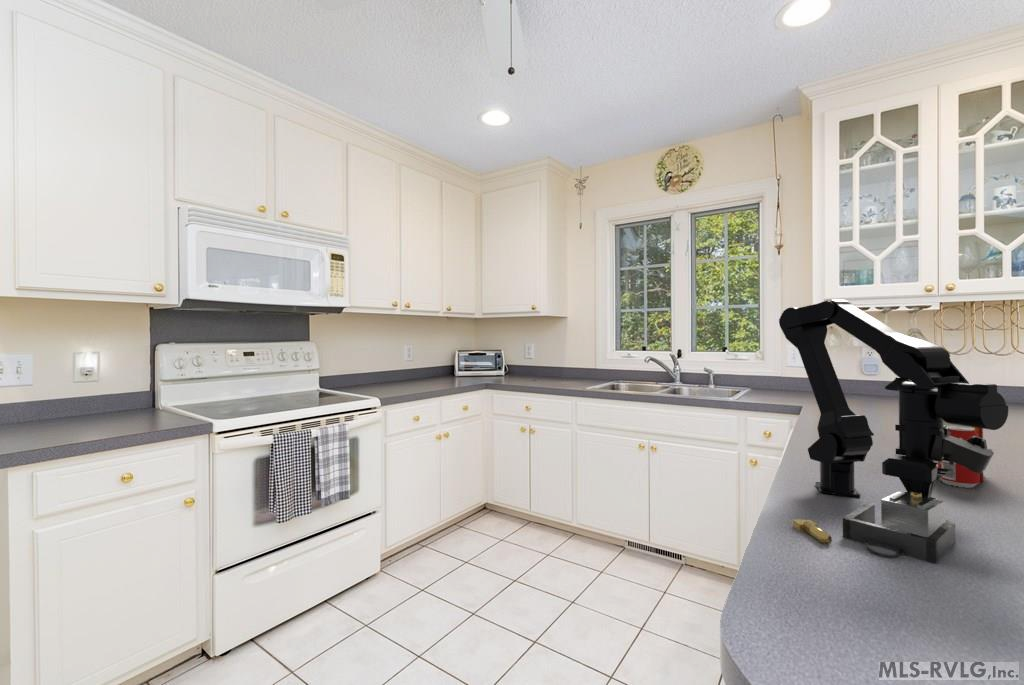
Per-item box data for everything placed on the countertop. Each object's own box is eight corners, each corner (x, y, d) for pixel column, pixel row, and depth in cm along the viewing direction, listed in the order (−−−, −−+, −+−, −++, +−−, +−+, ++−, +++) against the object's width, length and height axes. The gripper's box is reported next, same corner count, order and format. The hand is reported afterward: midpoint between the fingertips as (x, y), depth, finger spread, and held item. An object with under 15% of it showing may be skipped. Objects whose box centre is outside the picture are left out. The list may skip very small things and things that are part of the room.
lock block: (898, 517, 80) (898, 485, 80) (944, 529, 75) (944, 495, 75) (881, 526, 77) (881, 493, 77) (928, 539, 72) (928, 503, 72)
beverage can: (988, 488, 95) (988, 429, 94) (957, 489, 95) (956, 430, 95) (959, 479, 101) (959, 424, 101) (929, 479, 101) (929, 424, 101)
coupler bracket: (867, 520, 80) (867, 502, 80) (955, 542, 71) (955, 522, 71) (834, 542, 71) (834, 522, 71) (929, 570, 62) (929, 548, 62)
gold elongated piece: (793, 526, 77) (792, 517, 77) (810, 526, 77) (810, 517, 77) (816, 544, 71) (816, 534, 71) (836, 544, 71) (835, 534, 70)
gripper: (975, 434, 67) (977, 542, 67) (998, 418, 78) (999, 511, 79) (880, 423, 76) (881, 519, 76) (912, 411, 87) (913, 494, 87)
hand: (921, 510), depth 79 cm, fingers closed
